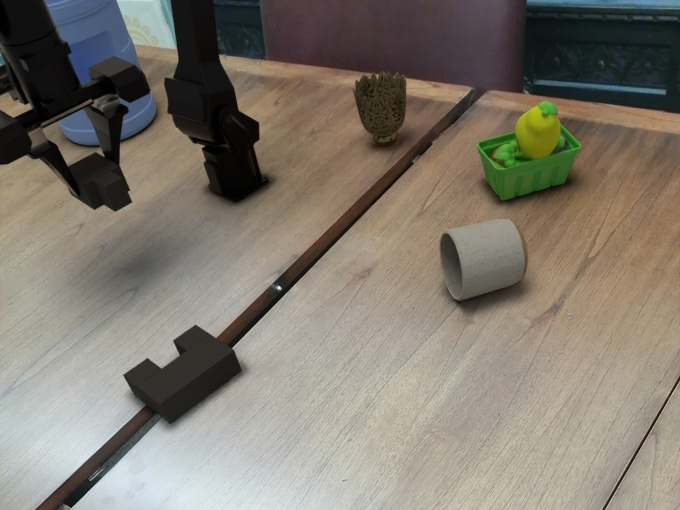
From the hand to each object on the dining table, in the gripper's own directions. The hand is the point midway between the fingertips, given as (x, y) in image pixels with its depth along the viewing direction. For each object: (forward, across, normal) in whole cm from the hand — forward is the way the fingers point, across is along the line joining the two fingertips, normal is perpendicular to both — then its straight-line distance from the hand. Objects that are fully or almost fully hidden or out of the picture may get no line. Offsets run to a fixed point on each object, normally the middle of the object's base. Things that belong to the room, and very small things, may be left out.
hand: (97, 184), depth 81 cm
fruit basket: (+11, -43, +30) cm, 54 cm away
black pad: (+1, 0, +1) cm, 2 cm away
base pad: (+11, +8, +23) cm, 27 cm away
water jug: (+11, -20, -38) cm, 44 cm away
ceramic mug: (+11, -24, +37) cm, 46 cm away
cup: (+11, -40, +6) cm, 42 cm away
